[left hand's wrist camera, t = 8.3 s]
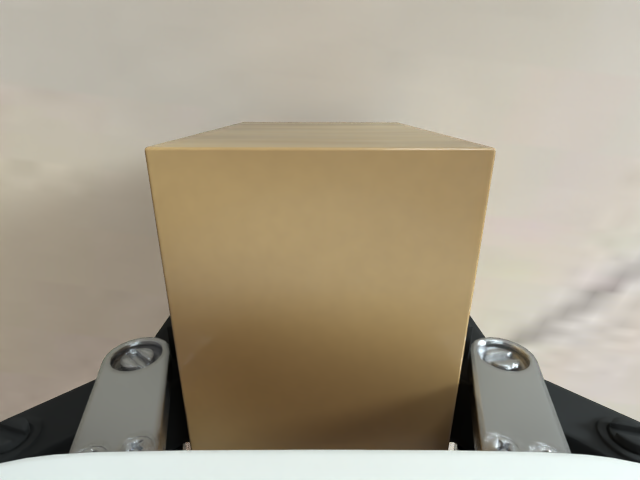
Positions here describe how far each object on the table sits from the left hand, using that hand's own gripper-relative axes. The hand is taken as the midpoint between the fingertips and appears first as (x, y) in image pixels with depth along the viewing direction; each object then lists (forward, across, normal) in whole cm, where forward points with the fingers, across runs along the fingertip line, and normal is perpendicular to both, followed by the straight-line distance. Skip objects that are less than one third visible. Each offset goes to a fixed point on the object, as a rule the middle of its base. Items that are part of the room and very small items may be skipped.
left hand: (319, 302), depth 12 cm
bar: (+2, 0, -26) cm, 26 cm away
